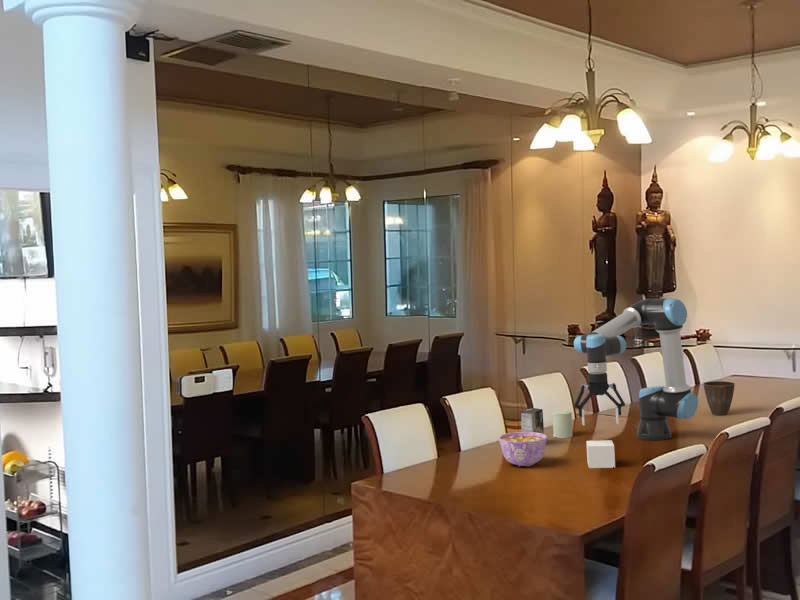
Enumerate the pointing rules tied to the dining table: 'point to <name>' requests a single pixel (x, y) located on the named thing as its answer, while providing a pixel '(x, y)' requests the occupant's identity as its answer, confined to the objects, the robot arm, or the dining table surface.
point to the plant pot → (719, 396)
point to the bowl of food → (523, 447)
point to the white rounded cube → (600, 454)
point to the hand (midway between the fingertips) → (600, 424)
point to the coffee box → (532, 420)
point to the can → (562, 424)
